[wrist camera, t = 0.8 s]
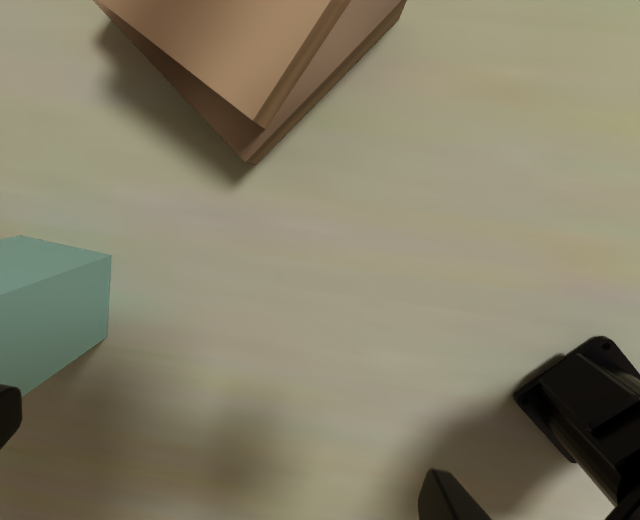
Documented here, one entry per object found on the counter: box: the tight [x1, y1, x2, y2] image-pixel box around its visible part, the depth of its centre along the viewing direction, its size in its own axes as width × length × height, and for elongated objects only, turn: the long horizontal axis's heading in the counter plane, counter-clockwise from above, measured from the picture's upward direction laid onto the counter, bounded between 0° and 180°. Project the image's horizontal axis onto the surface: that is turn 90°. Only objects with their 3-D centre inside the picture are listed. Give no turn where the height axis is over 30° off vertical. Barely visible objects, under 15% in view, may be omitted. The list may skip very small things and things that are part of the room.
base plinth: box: [93, 0, 407, 164], centre depth 15 cm, size 10×10×2 cm
